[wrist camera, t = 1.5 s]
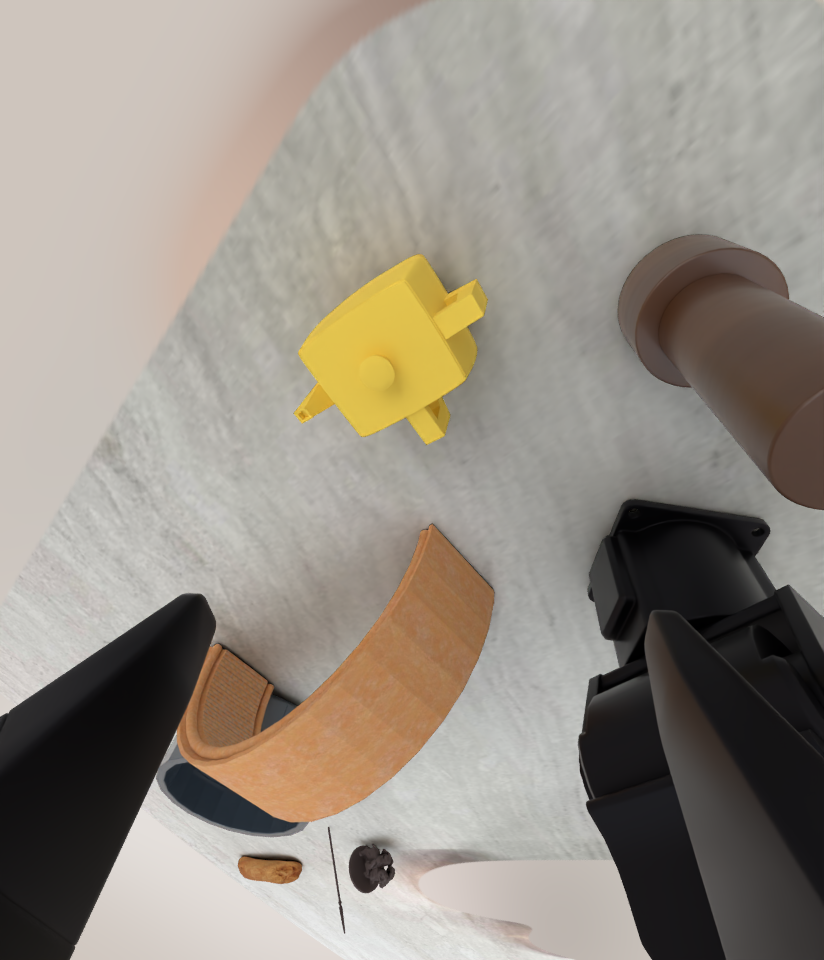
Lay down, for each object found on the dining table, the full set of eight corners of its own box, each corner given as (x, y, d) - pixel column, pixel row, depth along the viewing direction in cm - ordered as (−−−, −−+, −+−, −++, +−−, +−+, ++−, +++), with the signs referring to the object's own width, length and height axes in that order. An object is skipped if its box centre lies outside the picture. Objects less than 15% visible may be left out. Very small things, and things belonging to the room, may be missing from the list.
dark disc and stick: (343, 934, 43) (371, 921, 41) (326, 827, 48) (351, 812, 46) (389, 917, 46) (417, 905, 45) (369, 819, 52) (393, 805, 50)
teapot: (372, 438, 23) (343, 502, 19) (293, 334, 21) (240, 380, 17) (526, 353, 20) (533, 407, 16) (452, 219, 18) (437, 239, 14)
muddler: (772, 242, 17) (1094, 346, 8) (716, 365, 19) (910, 554, 10) (640, 226, 17) (799, 309, 8) (602, 350, 20) (690, 520, 10)
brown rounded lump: (236, 843, 55) (249, 854, 58) (226, 868, 53) (240, 878, 57) (299, 860, 53) (308, 871, 57) (291, 886, 52) (301, 896, 55)
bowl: (331, 698, 36) (306, 777, 31) (331, 774, 42) (311, 849, 38) (185, 670, 37) (140, 743, 32) (207, 748, 43) (172, 818, 38)
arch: (496, 593, 28) (494, 780, 19) (266, 691, 36) (197, 849, 28) (433, 523, 26) (401, 698, 17) (206, 645, 34) (112, 800, 26)
